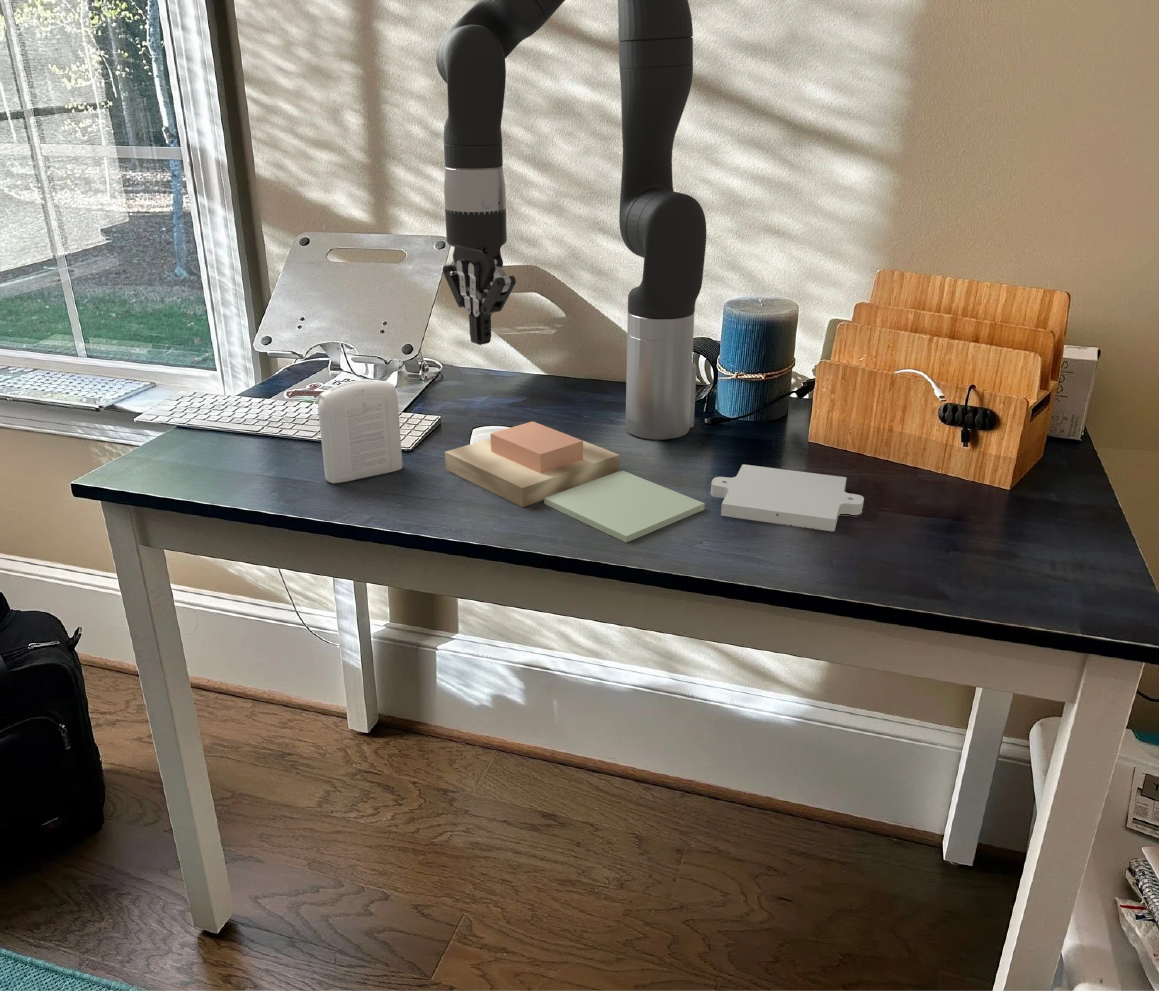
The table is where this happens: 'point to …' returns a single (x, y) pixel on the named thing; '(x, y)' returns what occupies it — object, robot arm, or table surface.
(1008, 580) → the table surface
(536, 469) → the tile
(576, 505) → the mat
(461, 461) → the block
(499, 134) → the robot arm
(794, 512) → the mounting plate
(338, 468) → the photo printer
